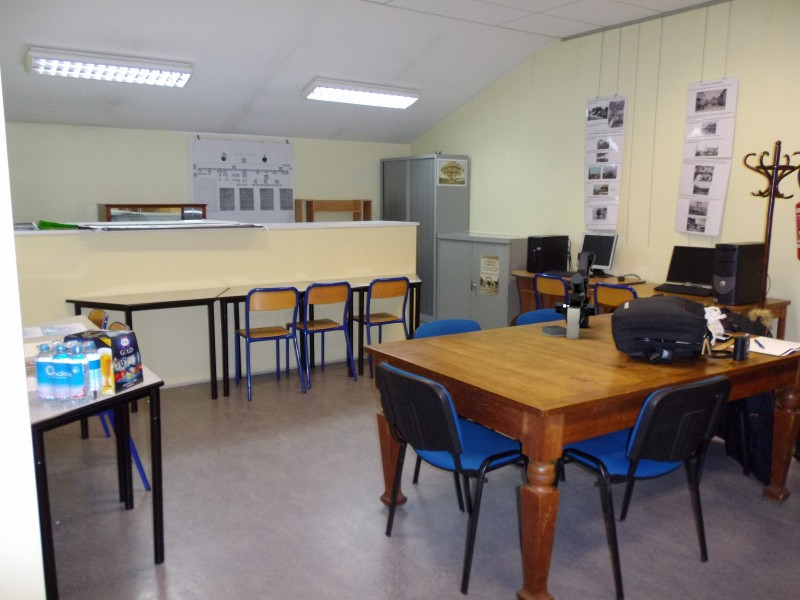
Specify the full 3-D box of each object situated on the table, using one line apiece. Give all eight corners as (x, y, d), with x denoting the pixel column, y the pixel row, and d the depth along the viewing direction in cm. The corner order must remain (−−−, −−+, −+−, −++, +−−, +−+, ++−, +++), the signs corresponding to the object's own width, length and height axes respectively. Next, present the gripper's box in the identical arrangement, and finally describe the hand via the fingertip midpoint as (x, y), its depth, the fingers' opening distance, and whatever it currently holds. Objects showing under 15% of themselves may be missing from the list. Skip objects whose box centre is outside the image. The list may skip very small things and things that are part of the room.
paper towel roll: (574, 336, 313) (575, 307, 311) (581, 338, 308) (582, 308, 306) (564, 337, 311) (565, 307, 309) (570, 339, 306) (572, 309, 304)
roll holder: (557, 332, 323) (557, 325, 322) (567, 335, 314) (567, 328, 314) (541, 333, 320) (541, 325, 320) (550, 336, 312) (551, 329, 311)
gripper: (555, 285, 313) (550, 311, 305) (596, 287, 306) (592, 314, 298) (558, 299, 322) (553, 325, 313) (597, 302, 314) (593, 328, 306)
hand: (572, 323), depth 307 cm, fingers closed on paper towel roll, 6 cm apart
